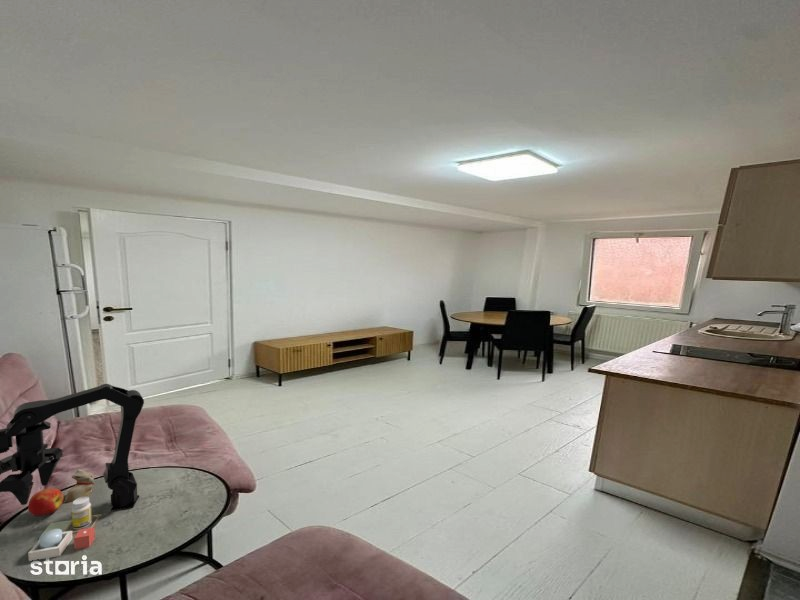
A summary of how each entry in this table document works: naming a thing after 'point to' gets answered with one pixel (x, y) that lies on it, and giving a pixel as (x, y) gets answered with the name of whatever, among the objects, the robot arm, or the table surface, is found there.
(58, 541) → the dome
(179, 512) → the table surface
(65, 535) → the tray
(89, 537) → the red die
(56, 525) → the pad
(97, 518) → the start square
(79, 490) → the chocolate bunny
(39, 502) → the apple
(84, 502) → the supplement bottle
